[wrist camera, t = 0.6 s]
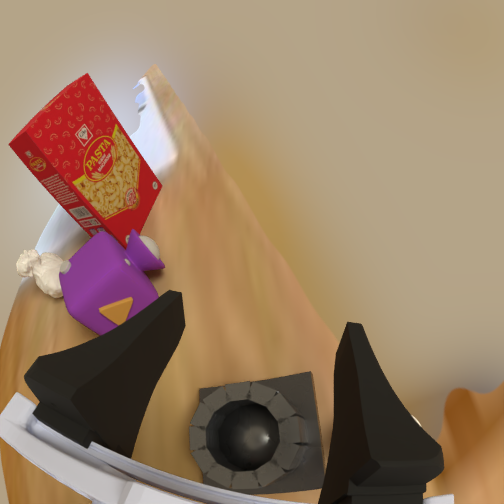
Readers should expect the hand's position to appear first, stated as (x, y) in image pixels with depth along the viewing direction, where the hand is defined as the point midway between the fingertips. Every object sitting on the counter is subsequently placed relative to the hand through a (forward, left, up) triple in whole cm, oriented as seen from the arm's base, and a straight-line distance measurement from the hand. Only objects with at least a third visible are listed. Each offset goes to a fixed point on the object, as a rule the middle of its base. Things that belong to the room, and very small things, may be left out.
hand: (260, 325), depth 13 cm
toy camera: (+16, +22, -17) cm, 32 cm away
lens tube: (-4, +6, -17) cm, 18 cm away
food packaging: (+32, +25, -17) cm, 44 cm away
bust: (+22, +40, -17) cm, 48 cm away
